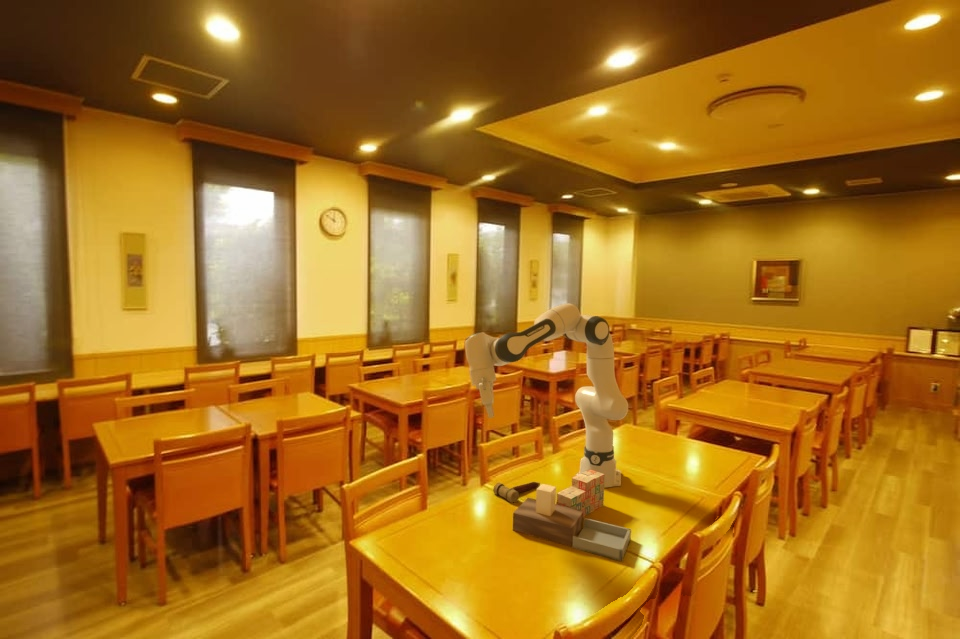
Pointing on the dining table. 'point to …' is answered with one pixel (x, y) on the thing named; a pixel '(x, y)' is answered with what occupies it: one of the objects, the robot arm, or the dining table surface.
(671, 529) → the dining table surface
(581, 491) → the stack of blocks
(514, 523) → the dark brown brick
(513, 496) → the gavel
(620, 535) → the box
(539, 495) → the tile block
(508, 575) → the dining table surface
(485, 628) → the dining table surface
